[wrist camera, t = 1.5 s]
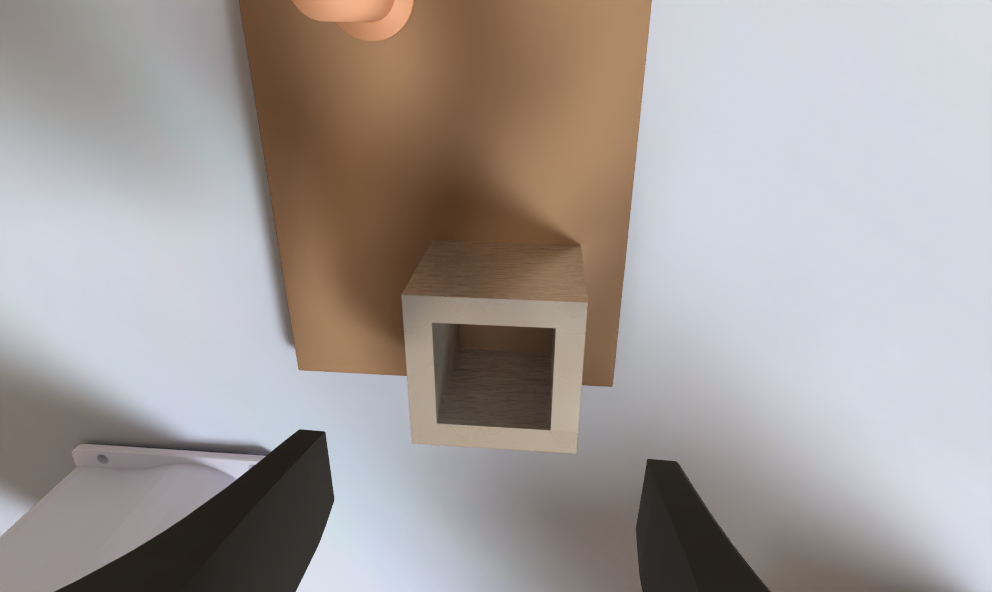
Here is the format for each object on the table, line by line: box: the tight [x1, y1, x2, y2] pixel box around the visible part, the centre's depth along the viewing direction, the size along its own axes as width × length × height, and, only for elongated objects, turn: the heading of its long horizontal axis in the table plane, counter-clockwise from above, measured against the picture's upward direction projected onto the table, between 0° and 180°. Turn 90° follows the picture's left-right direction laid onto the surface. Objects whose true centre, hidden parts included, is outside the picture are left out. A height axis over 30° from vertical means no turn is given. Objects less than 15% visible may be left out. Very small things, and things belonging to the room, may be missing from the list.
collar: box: [401, 240, 588, 454], centre depth 19 cm, size 5×5×4 cm
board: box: [239, 0, 652, 387], centre depth 19 cm, size 12×18×1 cm, turn 0°
